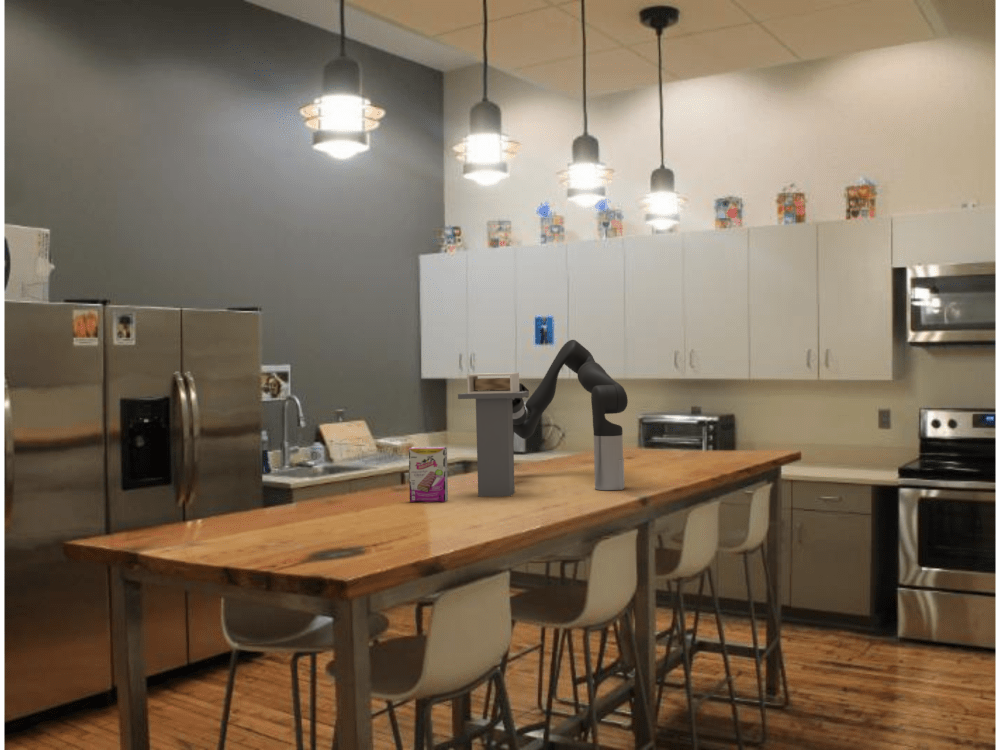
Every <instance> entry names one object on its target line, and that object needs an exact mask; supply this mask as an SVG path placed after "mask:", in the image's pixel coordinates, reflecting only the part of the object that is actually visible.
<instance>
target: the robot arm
mask: <svg viewBox="0 0 1000 750" xmlns="http://www.w3.org/2000/svg"><path fill="white" fill-rule="evenodd" d="M563 366H566V367H568V369H570V370H571V371H572V372H573V373H575V374H577V379H578V382H579V384H580V385H581V386H582V388H583V389H584V390H585V391H586V392H588V393H590V394H591V396H590V399H591V410H592V411H591V412H592V415H591V416H592V426H593V427H592V429H593V459H594V489H596V490H598V491H599V490H600V491H617V490H618V491H619V490H620V491H621V490H624V489H625V459H624V447H623V445H624V444H623V443H624V442H623V441H624V439H623V437H624V436H623V426H621V425H620V424H616V423H613V422H611V421H609V420H608V419H606V415H610V414H611V415H612V414H616V415H617V414H621V413H623V412H624V411H625V410H626V409H627V407H628V403H629V402H628V395H627V391H626V390H625V388H624V387H623V386H622V385H621V384H620V383H618V382H617V381H616V380H615V379H613V378H612V377H611V376H610V375H609V374H608V372H606V370H605V369H604V368H603V367H602V366H601V364H600V363H598V362H597V361H596V360H595V358H594V356H593V355H592V353H591V352H590V351H589V350H588V349H587V348H586V347H584V346H583V345H582V344H581V343H580V342H579V341H577V340H576V339H570V340H568V341H567V342H566V343H564V344H563V345H562V347H561V348H560V349H559V351H558V352H557V354H556V356H555V358H554V359H553V361H552V362H551V364H550V366H549V368H548V370H547V371H546V373H545V375H544V377H543V379H542V381H541V382H540V383H539V385H538V386H537V387H536V389H535V390H534V392H533V393H532V394H530V397H525V398H528V399H527V401H526V402H524V398H512V409H513V434H516V435H517V436H518V437H519V438H521V439H524V440H525V439H529V438H530V437H532V436H533V434H534V433H535V430H536V429H537V425H538V424H539V421H540V420H541V417H542V415H543V414H544V412H545V411H546V409H548V407H549V405H550V404H551V403H552V401H553V399H554V398H555V394H556V389H557V384H558V383H557V382H558V379H559V374H560V371H561V369H562V368H563ZM522 391H529V392H530V390H529V389H528V388H527V387H526V386H525V385H524V384H523V383H522V382H521V383H520V382H519V392H522ZM527 411H528V412H529V414H530V415H529V418H528V413H527Z"/></svg>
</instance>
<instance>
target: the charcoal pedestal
mask: <svg viewBox="0 0 1000 750" xmlns="http://www.w3.org/2000/svg"><path fill="white" fill-rule="evenodd" d="M529 396H530V390H529V391H522V392H515V393H491V394H468V392H464V393H458V394H457V399H458V400H475V422H476V423H475V425H476V428H475V429H476V460H477V461H476V462H477V465H476V466H477V468H476V469H477V496H478V497H482V498H483V497H484V498H485V496H486V498H488V497H487V496H489V498H490V497H491V498H492V497H493V498H494V497H496V498H497V497H499V498H500V497H501V498H503V496H510V497H511V496H513V495H514V494H515V491H516V490H515V489H516V488H515V457H514V456H515V455H514V452H515V451H514V447H515V446H514V432H513V409H512V398H523V399H525V398H526V397H527V398H529Z"/></svg>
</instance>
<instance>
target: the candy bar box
mask: <svg viewBox="0 0 1000 750" xmlns="http://www.w3.org/2000/svg"><path fill="white" fill-rule="evenodd" d="M408 466H409V467H408V471H409V474H408V477H409V480H408V481H409V502H410V503H445V502H447V501H448V499H449V490H448V489H449V488H448V486H449V485H448V483H449V479H448V447H447V446H412V447H409V448H408Z"/></svg>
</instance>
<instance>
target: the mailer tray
mask: <svg viewBox="0 0 1000 750" xmlns="http://www.w3.org/2000/svg"><path fill="white" fill-rule="evenodd" d="M475 390H478V391H479V390H510V377H501V378H500V377H489V378H478V379H475Z"/></svg>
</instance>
